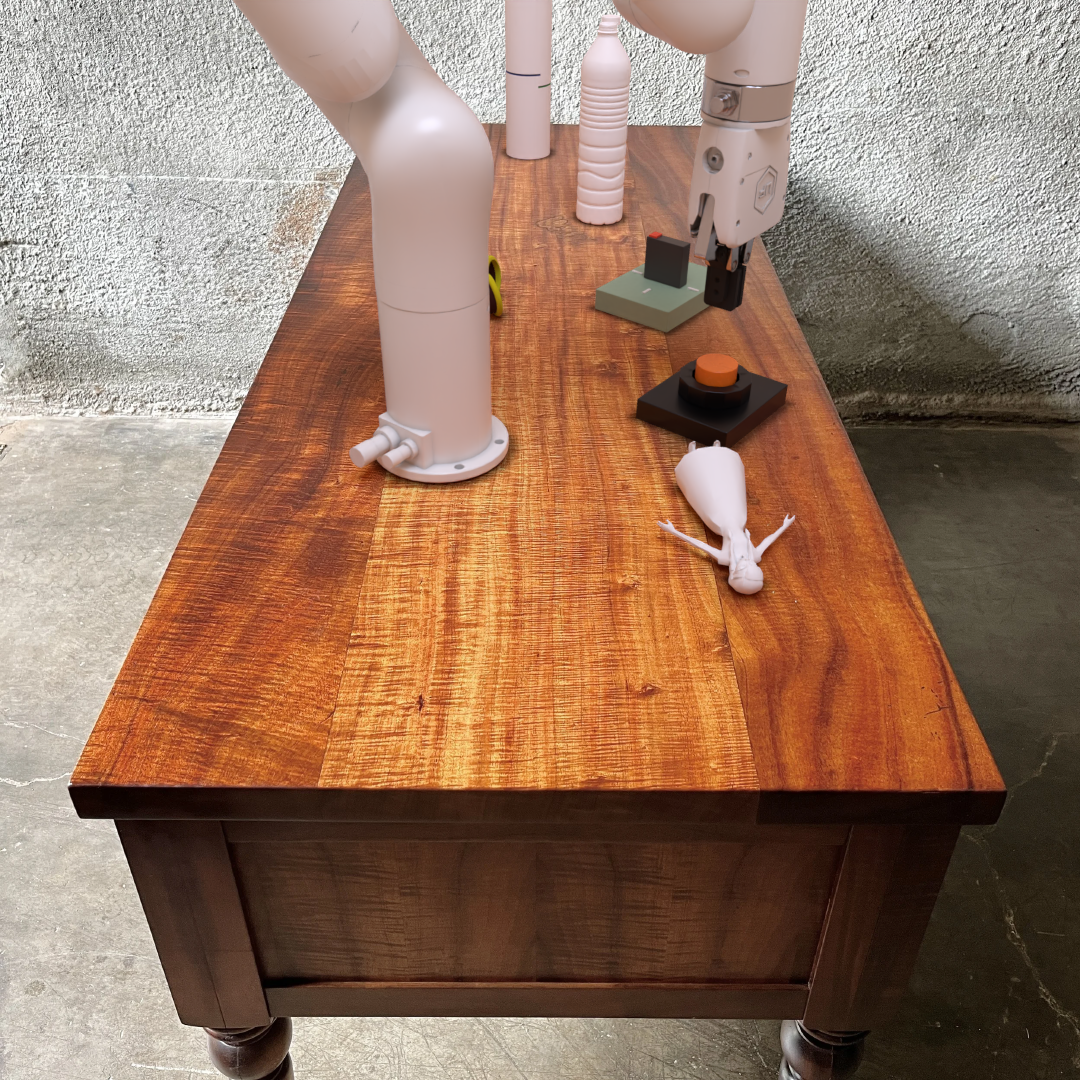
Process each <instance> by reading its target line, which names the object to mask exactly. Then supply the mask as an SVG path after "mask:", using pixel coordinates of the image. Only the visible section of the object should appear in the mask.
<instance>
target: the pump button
mask: <svg viewBox="0 0 1080 1080" xmlns="http://www.w3.org/2000/svg"><path fill="white" fill-rule="evenodd" d="M697 358H698V359H697ZM697 358H696V359H697V361H696V370H695V379H696V381H697V382H699V383H702V384H704V385H707V386H716V387H725V386H730V385H733V384H735V382H736V378H737V371H738V364H739V362H738V361H737V360H736V359H735V358H734V357H732V356H731V355H727V354H723V353H716V352H713V353H705V354H702V355H700V356H699V357H697Z"/></svg>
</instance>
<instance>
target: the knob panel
mask: <svg viewBox="0 0 1080 1080" xmlns="http://www.w3.org/2000/svg"><path fill="white" fill-rule="evenodd" d="M644 267H645V262H643V263H642V264H640V265H638V266H637V267H634V268H633V269H631V270H629V271H627V272H625V273H623V274H621V275H619V276H618V277H616V278H614V279H612V280H610V281H608V282H606V283H605V284H602V285H601V286H599V287H597V288H596V289H595V299H594V301H595V303H594V309H595V310H597V311H600V312H603V313H606V314H610V315H612V316H614V317H615V316H616V317H619V318H622V319H625V320H627V321H631V322H634V323H637V324H639V325H643V326H645V327H648V328H652V329H654V330H658V331H661V332H664V333H669V332H671V331H672V330H674V329H675V328H676V327H678V326H680V325H681V324H683V323H684V322H686V321H688V320H689V319H691V318H693V317H694V316H695V315H697V314H699V313H701V312H702V311H703V310H706V309H707V308H709V307H711V306H710V305H707V304H705V303H704V291H705V282H706V273H707V266H705V265H701V264H698V263H694V262H692V261H691V262H690V261H689V264H688V274H687V284H686V285H684V286H683V287H681V288H676V287H673V286H670V285H666V284H663V283H660V282H657V281H654V280H650V279H647V278H644Z"/></svg>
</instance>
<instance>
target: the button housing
mask: <svg viewBox="0 0 1080 1080" xmlns="http://www.w3.org/2000/svg"><path fill="white" fill-rule="evenodd" d="M698 358H699V357H697V358H695V359H694V360H691V361H689V362H688V363H686V364H685V365H683V366H681V367H680V368H679V370H678V371H676V372H675V373H674V374H672V375H670V376H669V377H667V378H666V379H664V380H663V381H662V382H660V383H659V384H657V385H656V386H655V387H653V388H652V389H650V390H648V391H647V392H645V393H644V394H642V395H641V396H640V397H638V398H637V400H636V410H635V411H636V412H635V419H636V420H639V421H642V422H644V423H647V424H650V425H652V426H655V427H657V428H660V429H663V430H665V431H668V432H670V433H672V434H675V435H678V436H680V437H683V438H686V439H688V440H690V441H692V442H693V441H695V443H698V444H701V445H704V446H705V447H712V446H713V445H714V442H715V441H716V440H718V441H719V442H720V447H726V448H728V449H731V448H733V446H735V445H736V444H737V443H738V442H739V441H741V440H742V439H743V438H744V437H746V436H747V435H748V434H749V433H751V432H752V431H753V430H754V429H756V428H757V427H758V426H759V425H760V424H762V423H763V422H764V421H766V420H767V419H768V418H769V417H770V416H772V415H773V414H774V413H776V411H778V410H779V409H780V408H781V407H783V406H784V405H785V404H786V398H787V393H788V387H789V384H787V383H784V382H782V381H778V380H776V379H772V378H769V377H766V376H763V375H760V374H758V373H755V372H753V371H752V372H751V371H749V370H748V369H747V368H745V367H744V366H743V365H741V364H739V363H738V371H737V378H736V382H735V384H733V385H730V386H725V387H716V386H707V385H704V384H702V383H699V382H697V381H696V379H695V370H696V361H697V359H698Z"/></svg>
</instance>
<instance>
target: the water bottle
mask: <svg viewBox="0 0 1080 1080" xmlns="http://www.w3.org/2000/svg"><path fill="white" fill-rule="evenodd" d="M621 18H622V16H621V15H620V14H619V15H618V14H613V13H612V14H610V13H608V14H602V15H601V19H600V21H601V22H599V24H598V29H597V30H596V31H597V36H596V37H595V39H594V41H593V42H592V44H591V45H590V47H589V48H588V50H587V52H586V53H585V54H584V56H583V57H582V60H581V66H580V82H581V83H580V104H579V109H580V110H579V127H578V140H579V142H578V149H577V153H578V158H577V170H578V172H577V177H576V178H577V187H576V197H577V199H576V207H575V215H576V218H577V220H579V221H581V222H583V223H585V224H591V225H596V226H603V225H613V224H615V223H618V222H620V221H621V219H622V218H623V213H624V212H623V211H624V200H623V199H624V191H625V190H624V189H625V188H624V187H625V186H624V184H625V174H626V169H625V166H626V156H627V143H626V142H627V139H628V121H629V119H628V117H629V103H630V90H631V89H630V88H631V85H630V83H631V77H632V76H631V75H632V64H631V63H632V62H631V58H630V57H629V55H628V53H627V51H626V49H625V47H624V45H623V43H622V42H621V40H620V38H619V36H618V33H619V30H618V26H620V25H621Z"/></svg>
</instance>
